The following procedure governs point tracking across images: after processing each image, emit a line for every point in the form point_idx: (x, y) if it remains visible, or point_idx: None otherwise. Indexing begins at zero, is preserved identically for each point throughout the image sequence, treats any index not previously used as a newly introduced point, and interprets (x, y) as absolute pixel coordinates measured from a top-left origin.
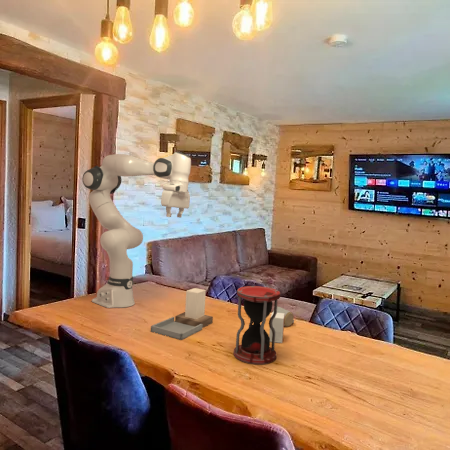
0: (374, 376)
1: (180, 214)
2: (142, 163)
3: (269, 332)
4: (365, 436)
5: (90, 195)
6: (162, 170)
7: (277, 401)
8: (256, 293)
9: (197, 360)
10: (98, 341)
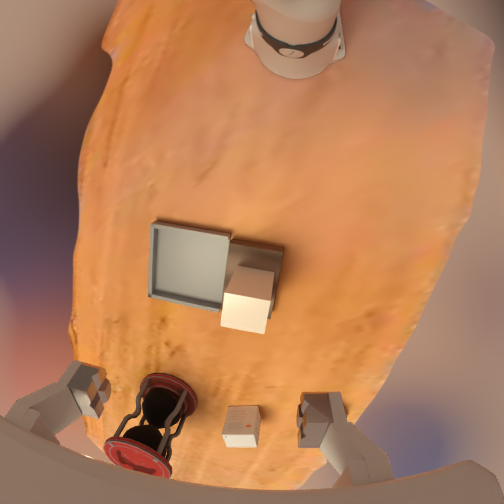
0: (197, 472)
1: (301, 442)
2: None
3: (226, 416)
4: (102, 446)
5: None
6: None
7: None
8: (135, 458)
9: (110, 335)
10: (79, 169)
